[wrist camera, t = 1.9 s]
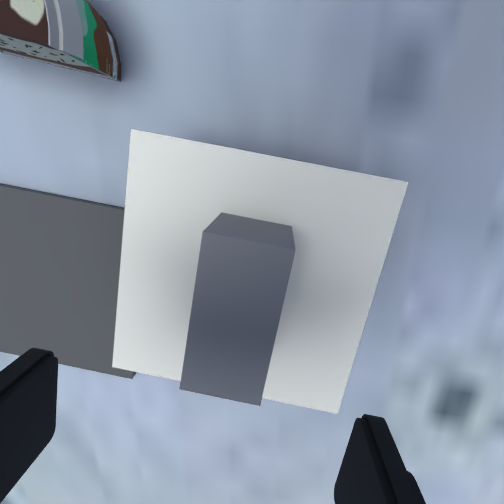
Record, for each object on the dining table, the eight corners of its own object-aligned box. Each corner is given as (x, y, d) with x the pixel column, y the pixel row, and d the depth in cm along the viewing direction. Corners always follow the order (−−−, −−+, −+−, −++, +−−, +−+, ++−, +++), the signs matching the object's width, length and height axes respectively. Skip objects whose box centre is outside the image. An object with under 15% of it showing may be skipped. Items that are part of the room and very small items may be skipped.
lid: (401, 180, 19) (454, 192, 14) (334, 401, 24) (353, 484, 18) (139, 130, 20) (79, 120, 14) (120, 356, 24) (67, 423, 18)
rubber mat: (151, 213, 29) (148, 214, 29) (135, 373, 34) (132, 378, 33) (-31, 177, 30) (-40, 177, 29) (-24, 340, 34) (-31, 345, 33)
